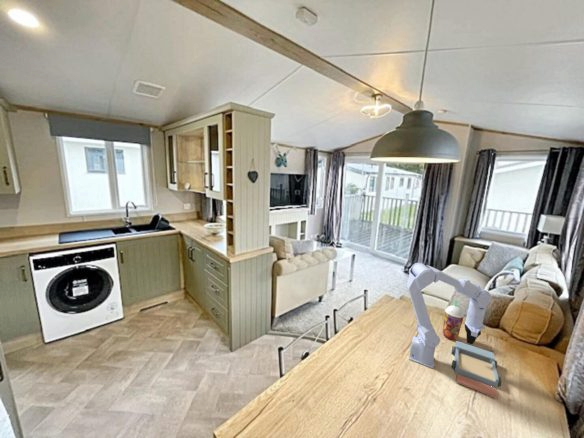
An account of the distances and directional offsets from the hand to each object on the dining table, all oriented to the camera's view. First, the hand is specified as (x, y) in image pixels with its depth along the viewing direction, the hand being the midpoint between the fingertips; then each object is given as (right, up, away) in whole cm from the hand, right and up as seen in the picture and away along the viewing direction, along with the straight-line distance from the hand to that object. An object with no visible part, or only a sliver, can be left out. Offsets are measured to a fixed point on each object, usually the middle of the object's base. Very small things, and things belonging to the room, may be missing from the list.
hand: (469, 343), depth 111 cm
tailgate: (-3, -12, -8) cm, 15 cm away
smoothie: (+4, -7, +21) cm, 23 cm away
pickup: (+2, -11, 0) cm, 11 cm away
